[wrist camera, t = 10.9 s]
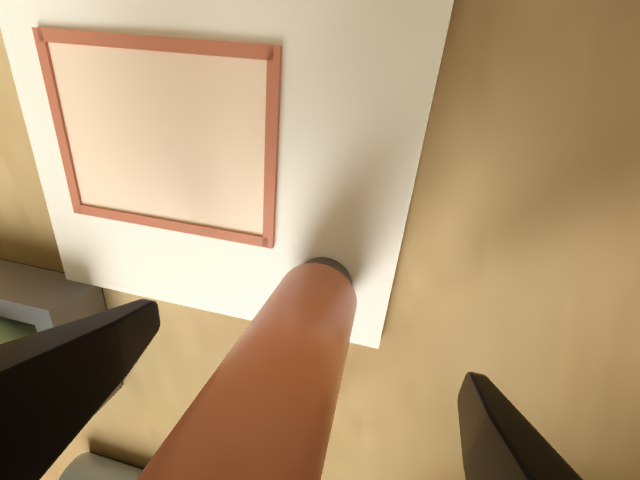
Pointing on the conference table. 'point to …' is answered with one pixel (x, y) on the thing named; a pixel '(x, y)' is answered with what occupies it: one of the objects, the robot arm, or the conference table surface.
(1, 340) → the button
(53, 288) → the button housing
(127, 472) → the grey cylinder
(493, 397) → the robot arm
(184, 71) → the sheet
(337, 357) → the salmon rounded cylinder
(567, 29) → the conference table surface
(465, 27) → the conference table surface
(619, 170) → the conference table surface
